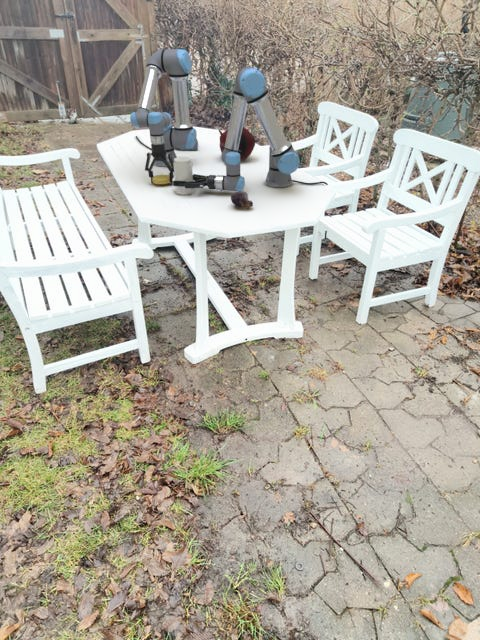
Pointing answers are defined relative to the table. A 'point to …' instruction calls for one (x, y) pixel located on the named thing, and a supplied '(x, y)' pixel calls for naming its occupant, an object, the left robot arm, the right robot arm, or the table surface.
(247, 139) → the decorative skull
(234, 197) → the rock
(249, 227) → the table surface
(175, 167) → the jar
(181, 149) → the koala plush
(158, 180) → the lid
